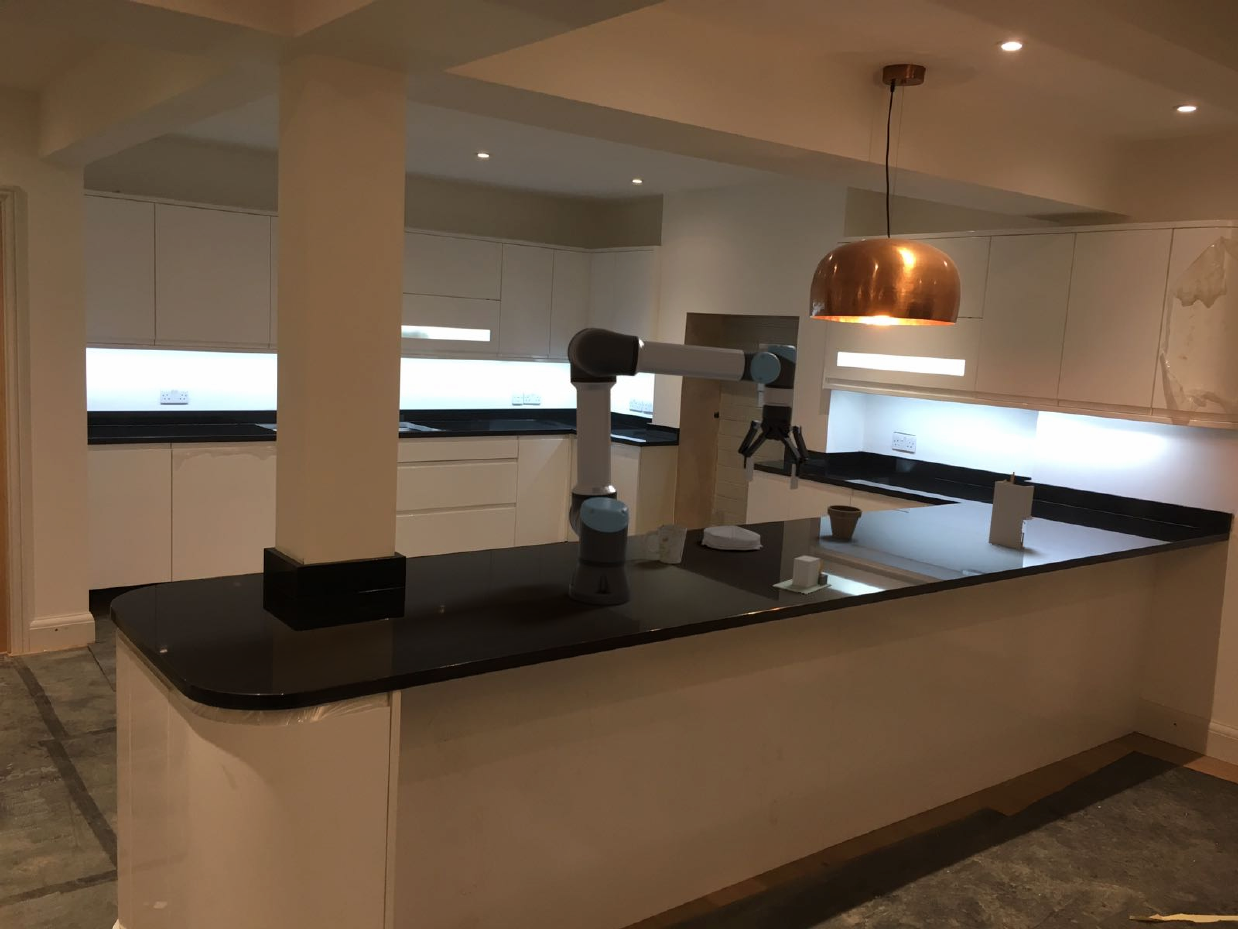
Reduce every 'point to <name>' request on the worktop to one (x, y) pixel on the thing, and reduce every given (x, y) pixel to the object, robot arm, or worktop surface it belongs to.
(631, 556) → the worktop surface
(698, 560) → the worktop surface
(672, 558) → the mug
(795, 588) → the board
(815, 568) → the plug housing
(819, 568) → the header pins
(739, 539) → the food container
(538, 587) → the worktop surface
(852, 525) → the flower pot
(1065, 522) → the worktop surface
